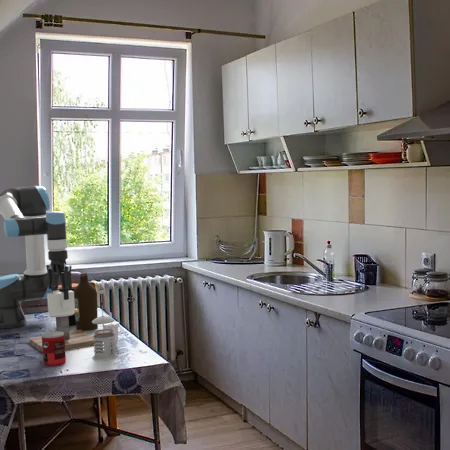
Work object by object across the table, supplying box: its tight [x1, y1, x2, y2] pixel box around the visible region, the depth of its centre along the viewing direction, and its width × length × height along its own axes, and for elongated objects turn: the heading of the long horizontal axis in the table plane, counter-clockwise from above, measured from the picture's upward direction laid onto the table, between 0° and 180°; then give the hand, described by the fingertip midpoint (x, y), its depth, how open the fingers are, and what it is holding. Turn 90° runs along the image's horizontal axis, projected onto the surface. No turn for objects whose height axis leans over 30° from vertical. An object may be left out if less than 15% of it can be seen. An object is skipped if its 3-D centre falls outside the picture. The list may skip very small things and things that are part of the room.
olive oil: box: [74, 272, 99, 332], centre depth 290 cm, size 11×11×25 cm
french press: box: [91, 290, 119, 362], centre depth 241 cm, size 10×12×25 cm
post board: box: [28, 316, 95, 353], centre depth 265 cm, size 22×22×12 cm
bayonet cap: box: [46, 291, 78, 318], centre depth 265 cm, size 12×10×9 cm
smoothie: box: [104, 312, 120, 349], centre depth 255 cm, size 6×6×14 cm
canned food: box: [41, 330, 67, 367], centre depth 236 cm, size 8×8×11 cm
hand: (61, 306), depth 264 cm, fingers closed on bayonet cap, 5 cm apart
